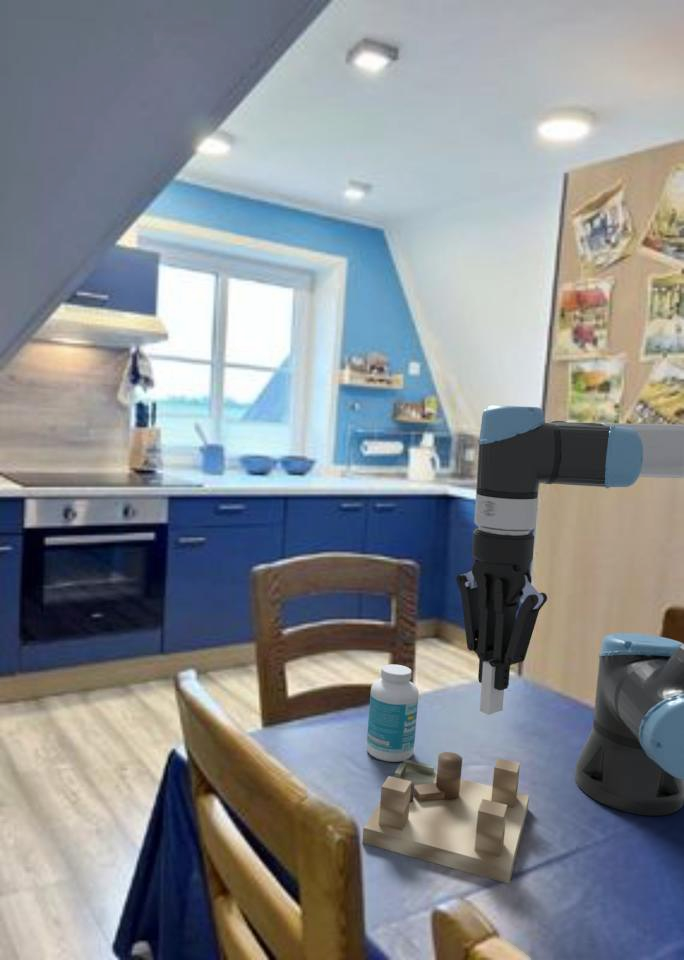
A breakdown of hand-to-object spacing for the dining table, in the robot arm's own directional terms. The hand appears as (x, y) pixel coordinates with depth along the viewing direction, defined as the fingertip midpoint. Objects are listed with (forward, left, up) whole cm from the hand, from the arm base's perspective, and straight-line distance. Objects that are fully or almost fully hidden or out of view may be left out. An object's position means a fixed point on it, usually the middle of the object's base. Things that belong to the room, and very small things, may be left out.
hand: (491, 710), depth 98 cm
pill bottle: (+17, -15, -16) cm, 28 cm away
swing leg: (+6, -2, -14) cm, 15 cm away
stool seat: (+4, +1, -16) cm, 16 cm away
